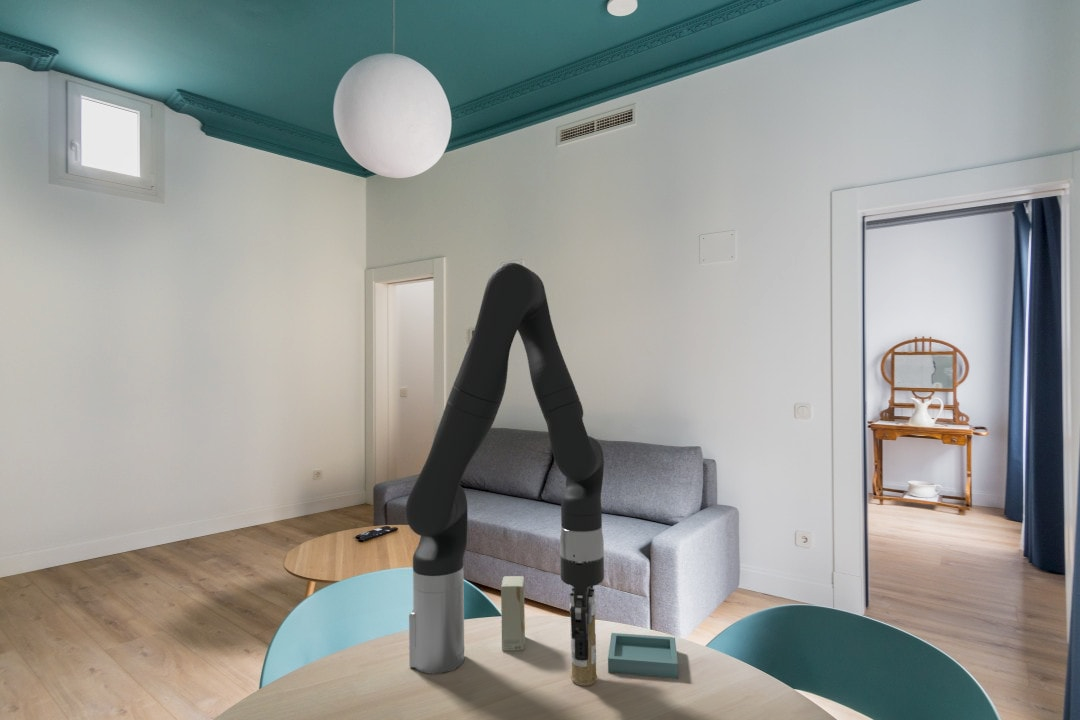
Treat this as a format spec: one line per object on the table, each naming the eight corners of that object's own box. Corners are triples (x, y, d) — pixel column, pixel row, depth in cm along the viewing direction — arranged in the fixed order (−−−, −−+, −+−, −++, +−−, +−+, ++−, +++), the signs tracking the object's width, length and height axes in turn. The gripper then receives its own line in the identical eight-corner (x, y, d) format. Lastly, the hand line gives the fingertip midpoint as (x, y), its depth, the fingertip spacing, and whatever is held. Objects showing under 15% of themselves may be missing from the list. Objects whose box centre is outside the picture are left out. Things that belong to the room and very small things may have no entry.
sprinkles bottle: (602, 681, 98) (601, 602, 99) (581, 689, 96) (580, 608, 96) (585, 670, 102) (584, 593, 103) (565, 677, 100) (564, 599, 100)
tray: (608, 672, 101) (608, 658, 101) (611, 645, 111) (611, 632, 111) (678, 678, 99) (677, 663, 99) (675, 650, 109) (675, 637, 109)
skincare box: (524, 651, 109) (523, 586, 110) (501, 651, 109) (500, 587, 110) (525, 635, 116) (524, 574, 116) (503, 636, 116) (503, 575, 116)
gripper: (566, 539, 107) (567, 632, 107) (553, 565, 93) (555, 671, 93) (606, 541, 106) (608, 635, 105) (600, 567, 92) (602, 675, 91)
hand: (583, 651), depth 99 cm, fingers closed on sprinkles bottle, 4 cm apart
